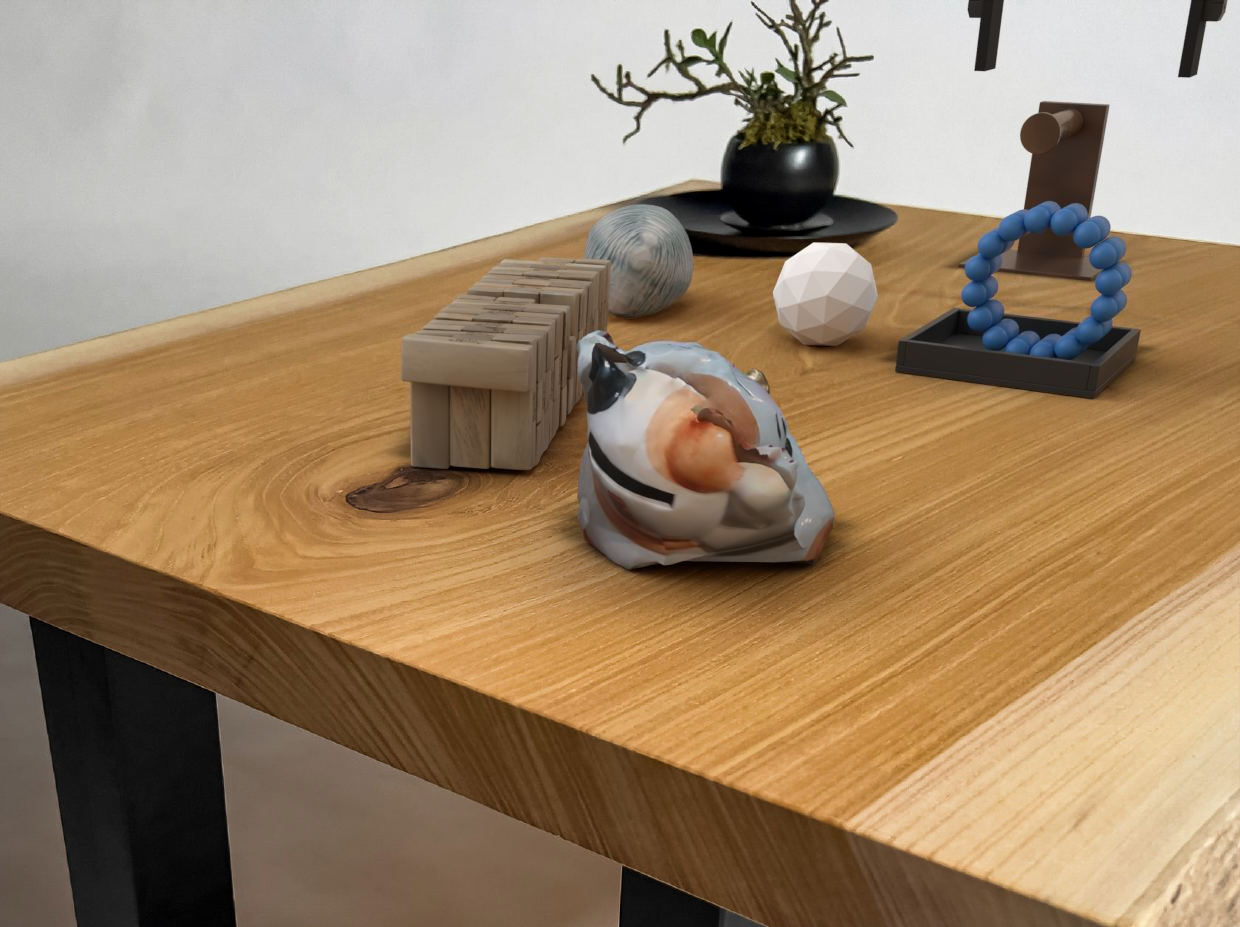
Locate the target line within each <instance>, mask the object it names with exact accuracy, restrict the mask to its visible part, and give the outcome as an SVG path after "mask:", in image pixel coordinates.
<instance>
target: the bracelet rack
mask: <svg viewBox="0 0 1240 927" xmlns="http://www.w3.org/2000/svg"><path fill="white" fill-rule="evenodd" d="M1109 111H1110V104H1107V103H1091V102H1090V103H1088V102H1072V101H1070V102H1068V101H1051V100H1042V101H1040V102H1039V104H1038V112H1036V113H1034V114H1032V115H1030V116H1029V117H1027V118H1026V120H1024V122H1023V123H1022V126H1021V128H1020V132H1019V140H1020V143H1021V146H1022V147H1023V148H1024V150H1026V151H1027V152H1028V153H1030V154H1031V156H1030V157H1031V158H1030V164H1029V170H1028V171H1029V172H1028V178H1027V184H1026V192H1025V198H1024V203H1023V204H1024V205H1023V209H1026V210H1030V209H1032V208H1034V207H1036V206H1038V205H1040V204H1042V203H1044V202H1047V201H1053V202H1055V203H1057V204H1058V205H1059V206H1060V208H1061V209H1062V208H1064V207H1066V206H1068V205H1070V204H1073V203H1078V204H1081V205H1083V206H1084V207H1085V208H1086V210H1087V212H1088V218H1087V220H1088V219H1090V218H1091V217H1092V212H1093V206H1094V200H1095V194H1096V189H1097V182H1098V177H1099V171H1100V164H1101V158H1102V153H1103V147H1104V141H1105V134H1106V128H1107V123H1108V117H1109ZM1073 234H1074V232H1072V233H1070V234H1069V235H1066V236H1059V235H1056V234H1055V233H1054V232H1053V231H1052V229H1051V227H1050V228H1049V229H1047V230H1045V231H1043V232H1041V233H1031V232H1030V233H1029V234H1027V235H1025V236H1023V237H1021V238H1020V239H1018V245H1017V249H1011V248H1010V249H1009V250H1008V251H1006V252H1004V253H1002V254H1000V255H1001V257H1002V265H1001V267H1000V269H999V270H998V271H997V272H998V273H999V272H1000V273H1009V274H1019V275H1029V276H1038V277H1048V278H1057V279H1067V280H1077V281H1087V282H1091V281H1093V280H1094V279H1096V277H1097V276H1098V274H1099V273H1100V272H1101V271H1103V270H1104V269H1103V270H1100V269H1096V268H1094V267H1093V266H1092V265H1091V263H1090V261H1089V256H1085V253H1086V249H1084V248H1080V247H1078V246H1077V245H1076V244H1075V242H1074V239H1073ZM978 254H979V252H977V254H975V255H973V256H971V257H969V258H967V259H965V260H963V261H961V262H959V263H958V265H957V267H958V268H961V269H965V265H966V263H967V261H968V260H969V259H970V258H972V257H974V256H976V255H978Z"/></svg>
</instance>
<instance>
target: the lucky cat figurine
mask: <svg viewBox="0 0 1240 927" xmlns="http://www.w3.org/2000/svg"><path fill="white" fill-rule="evenodd" d="M577 352H578V354H579V358H578V365H577V370H578V376H579V379H580V382H581V384H582V386H583V393H584V394H583V395H584V396H583V398H584V403H585V405H586V407H587V408H586V422H587V423H586V425H587V444H586V445H585V448H584V451H583V453H582V455H581V459H580V467H579V474H578V480H577V496H576V498H577V500H578V511H577V515H576V516H577V517H576V519H577V522H578V525H579V529H580V533H581V534H580V535H581V538H582V540H583V541H585V542H587V543H588V544H590V545H591V546H592V547H593V548H595V549H596V550H598V551H599V552H601V553H602V554H603V555H605V556H606V557H607V558H608V559H609V560H611V561H612V562H613V563H615V564H617V565H618V566H621V567H623V568H624V569H625V570H634V569H639V568H644V567H649V566H653V565H659V564H660V565H663V566H669V565H674V564H678V563H681V562H725V563H726V562H731V563H733V562H734V563H735V562H738V563H791V564H805V565H806V564H807V565H812V566H813V565H815V564H816V563H817V561H818V560H819V558H820V555H821V554H822V550H823V548H824V546H825V543H826V542H827V540H828V538H829V537H830V534H831V533H832V531H833V529H834V521H835V510H834V507H833V504H832V502H831V499H830V498H829V495H828V493H827V491H826V489H825V487H824V486H823V484H822V482H821V481H820V480H819V478H818V477H817V476H816V475H815V474H814V472H813V470H811V467H810V466H809V464H808V463H807V461H806V458H805V455H804V454H803V452H802V451H803V450H802V449H801V446H799V444H798V442H797V441H796V438H795V437H794V436H793V435H792V434H791V432H790V430H789V425H788V421H787V419H786V417H785V416H784V413H783V411H782V409H781V408H780V407H779V405H778V404H777V403H776V401H775V400H774V399H773V398H772V397H771V395H770V393H771V389H770V388H771V387H770V385H769V380H768V379H767V378H766V376H765V374H764V373H763V371H761V370H759V369H757V368H751V369H748V370H745V371H743V372H742V371H741V370H740V369H739V368H738V367H737V366H736V364H735V363H733V362H730V361H729V360H728V359H727V358H726V357H724V356H723V355H721V353H720V352H718V351H715V350H710V349H707V348H706V347H704V346H702V345H701V344H700V343H698V342H693V341H690V342H688V341H676V340H657V341H654V340H653V341H649V342H645V343H643V344H639V345H636V346H634V347H633V348H631V349H629V350H623V349H621V348H619V347H618V346H617V345H616V343H615V341H614V340H613V338H612V336H611V334H610V333H609V332H608V331H607V332H603V331H600V330H598V331H595V332H593V333H590V334H588V335H586V336H585V337H583V338H582V339H581V340H578V343H577Z"/></svg>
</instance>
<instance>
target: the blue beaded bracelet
mask: <svg viewBox="0 0 1240 927" xmlns="http://www.w3.org/2000/svg"><path fill="white" fill-rule="evenodd" d="M1087 218H1088V212H1087V210H1086V208H1085V207H1084V206H1083V205H1081V204H1078V203H1073V204H1070V205H1068V206H1066V207H1064V208H1062V209H1061V208H1060V206H1059V205H1058V204H1057V203H1055V202H1053V201H1047V202H1044V203H1042V204H1040V205H1038V206H1036V207H1034V208H1032V209H1030V210H1026V209H1024V208H1022V209H1018V210H1017V211H1015V212H1012V213H1011V214H1009V215H1007V216H1005V217H1003V219H1002V220H1001V221H1000V222H999V225H998V227H996V228H994V229H992V230H990V231H989V232H987V233H985V234H984V233H983V235H982V236H981V237H980V238H979V240H978V241H977V251H978V253H979V254H978V253H977V254H978V255H977V254H975V255H976V256H975V255H973V256H974V257H973V256H971V257H972V258H971V257H969V258H970V259H969V258H968V259H969V260H968V261H967V263H966V265H965V268H964V274H965V276H966V277H967V279H969V280H970V282H968V283H966V284H965V285H964V286H963V288H962V289H961V293H960V298H961V301H962V302H963V304H964V306H967V307H969V308H971V309H970V310H971V311H970V313H969V315H968V319H967V321H968V325H969V327H970V328H971V329H972V330H974V331H977V332H981V331H984V330H986V329H987V330H986V331H985V333H984V335H983V338H982V341H983V345H984V347H985V348H986V349H988V350H993V351H999V350H1001V349H1003V348H1004V347H1005V349H1004V352H1009V353H1017V354H1025V355H1033V356H1041V357H1049V358H1060V359H1065V360H1072V359H1074V358H1076V357H1077V356H1078V355H1079V354H1081V353H1082V352H1083V351H1084V350H1085V349H1086V348H1087V347H1088V346H1089V345H1091V344H1094V343H1096V342H1098V341H1099V340H1100V339H1101V338H1102V337H1104V336H1105V335H1106V334H1107V333H1108V332H1109V331H1110V330H1111V328H1112V326H1113V323H1114V322H1113V321H1114V320H1113V319H1114V318H1115V317H1116V316H1117V315H1118V314H1119V313H1121V312H1122V311H1123V310H1124V309H1125V308H1126V306H1127V303H1128V297H1127V296H1128V295H1127V294H1126V293H1125V291H1124V290H1122V289H1123V288H1124V287H1126V286H1127V285H1129V283H1130V281H1131V280H1132V275H1133V271H1132V268H1131V267H1130V265H1129V264H1128V263H1126V262H1124V261H1120V260H1122V259H1123V257H1125V255H1126V252H1127V245H1126V242H1125V240H1124V239H1123V238H1121V237H1120V236H1116V235H1112V236H1109V234H1110V232H1111V223H1110V220H1109V219H1108V218H1107V217H1106V216H1103V215H1094V216H1091V218H1090V219H1088V220H1087ZM1050 227H1051V229H1052V231H1053V232H1054V233H1055V234H1056V235H1059V236H1066V235H1069V234H1070V233H1072V232H1074V234H1073V239H1074V242H1075V244H1076V245H1077V246H1078V247H1080V248H1084V249H1085V250H1086V249H1091V250H1090V252H1089V254H1088V257H1089V261H1090V263H1091V265H1092V266H1093V267H1094V268H1096V269H1100V270H1103V269H1104V270H1103V271H1101V272H1100V273H1099V274H1098V276H1097V277H1096V278H1095V280H1094V287H1095V290H1096V291H1097V292H1098V293H1099V294H1100V295H1099V296H1097V297H1096V298H1095V299H1094V300H1093V301H1092V302H1091V304H1090V309H1089V311H1090V314H1089V316H1087V317H1086V318H1084V319H1083V320H1082V321H1080V322H1081V323H1080V324H1079V325H1078V327H1075V328H1073V329H1071V330H1070V331H1068V332H1067V333H1066V334H1065V335H1063V336H1060V335H1058V334H1050V335H1047V336H1046V337H1045V338H1043V339H1042V340H1041V341H1040V337H1039V336H1038V335H1037V334H1036V333H1035V332H1033V331H1025V332H1022V333H1021V334H1019V326H1018V324H1017V323H1016V322H1015V321H1014V320H1012V319H1003V320H1001V319H1002V317H1003V315H1004V314H1005V306H1004V304H1003V302H1001V301H1000V300H999V299H995V298H994V297H995V296H996V294H997V293H998V292H999V291H998V290H999V282H998V280H997V279H996V278H995V277H994V276H993V275H994V274H995V273H997V272H998V270H999V269H1000V267H1001V265H1002V257H1001V255H1000V254H1002V253H1004V252H1006V251H1008V250H1009V249H1011V248H1012V247H1013V246H1014V244H1015V242H1016V241H1019V239H1020V238H1021V237H1023V236H1025V235H1027V234H1029V233H1030V232H1031V233H1041V232H1043V231H1045V230H1047V229H1049V228H1050ZM1000 320H1001V321H1000ZM998 321H999V322H998ZM997 322H998V323H997ZM995 323H996V324H995ZM994 324H995V325H994ZM992 325H993V326H992ZM991 326H992V327H991ZM989 327H990V328H989ZM988 328H989V329H988ZM1018 334H1019V335H1018Z"/></svg>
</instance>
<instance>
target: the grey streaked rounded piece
mask: <svg viewBox="0 0 1240 927" xmlns="http://www.w3.org/2000/svg"><path fill="white" fill-rule="evenodd" d="M584 250H585V251H584V252H585V253H584V259H599V260H610V261H611V272H610V290H609V308H608V314H610V315H612V316H615V317H617V318H622V319H623V318H624V319H628V320H634V319H637V318H642V317H648V316H652V315H655V314H657V313H659V312H661V311H663V310H665V309H667V308H668V307H670V306H671V305H673V304H674V303H675V302H677V301H678V300H679V299H680V298H681V297H682V296H683V295H684V294H685V293H686V292H687V291H688V289H689V288H690V285H691V283H692V278H693V272H694V255H693V249H692V244H691V242H690V238H689V235H688V233H687V231H686V230H685V228H684V227H683V225H682V223H681V222H680V221H679V219H678V218H677V217H676V216H675V215H674V214H673V213H672V212H671V211H669V210H668V209H666V208H664V207H662V206H657V205H653V204H645V203H644V204H643V203H642V204H631V205H626V206H623V207H619V208H617V209H615V210H613V211H611V212H609V213H608V214H605V215H604V216H602V217H601V218H600V219H599V220H598V221H597V222H596V223H595V224H594V225H593V226H592V227H591V229H590V230H589V231H588V234H587V238H586V243H585V249H584Z"/></svg>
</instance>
